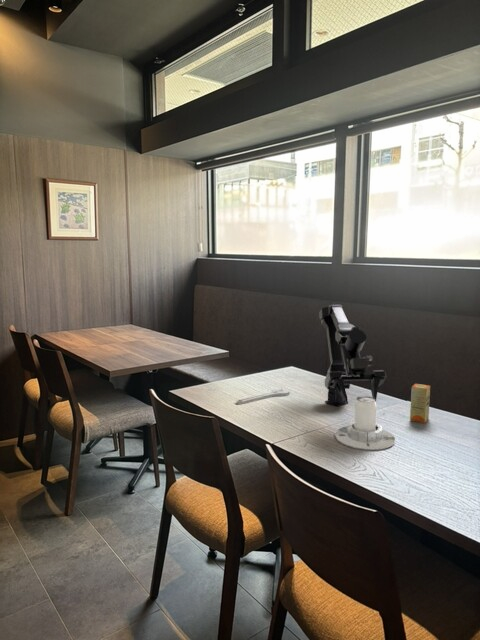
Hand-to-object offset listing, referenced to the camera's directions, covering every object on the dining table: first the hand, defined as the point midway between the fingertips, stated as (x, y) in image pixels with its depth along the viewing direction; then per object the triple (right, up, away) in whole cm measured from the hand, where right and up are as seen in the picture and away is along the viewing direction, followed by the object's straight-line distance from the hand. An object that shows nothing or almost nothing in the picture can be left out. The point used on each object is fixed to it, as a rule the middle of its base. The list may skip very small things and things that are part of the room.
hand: (361, 401), depth 151 cm
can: (0, -10, -3) cm, 11 cm away
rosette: (0, -11, -3) cm, 11 cm away
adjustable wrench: (-30, -6, +39) cm, 49 cm away
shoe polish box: (+23, -9, +13) cm, 28 cm away
